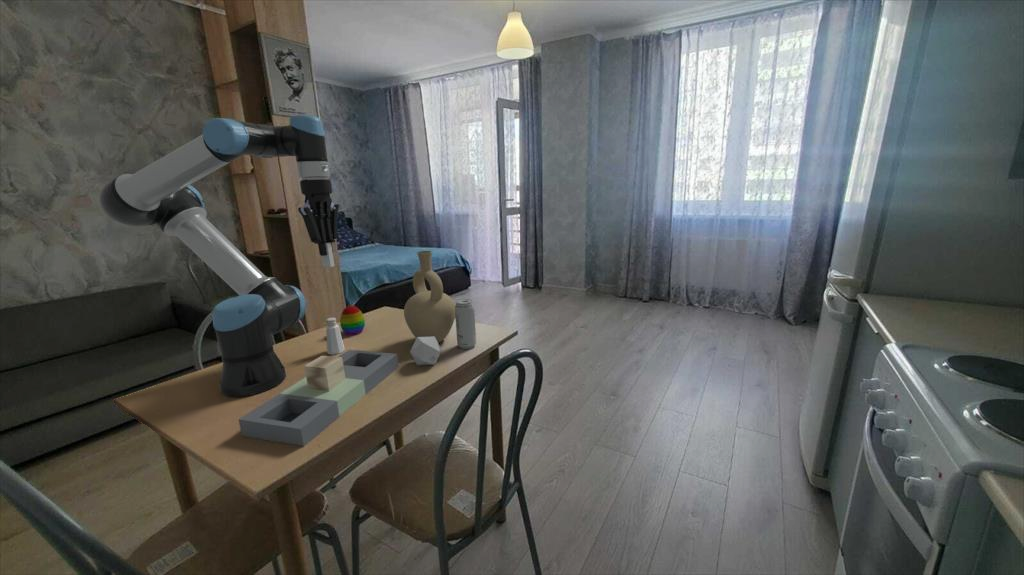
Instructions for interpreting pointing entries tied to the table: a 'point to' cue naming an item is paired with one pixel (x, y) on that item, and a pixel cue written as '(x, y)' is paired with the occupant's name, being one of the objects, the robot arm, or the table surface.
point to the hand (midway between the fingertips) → (328, 266)
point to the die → (425, 351)
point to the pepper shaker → (334, 337)
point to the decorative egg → (352, 320)
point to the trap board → (317, 401)
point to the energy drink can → (465, 323)
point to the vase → (429, 303)
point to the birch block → (325, 373)
